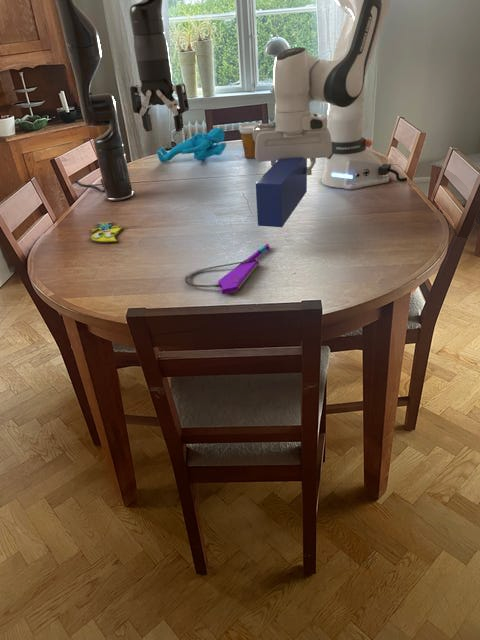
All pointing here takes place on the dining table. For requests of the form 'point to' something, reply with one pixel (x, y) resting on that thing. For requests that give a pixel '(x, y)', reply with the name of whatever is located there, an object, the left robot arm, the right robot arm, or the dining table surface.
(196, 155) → the toy
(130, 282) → the dining table surface
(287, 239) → the dining table surface
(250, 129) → the glass of beer
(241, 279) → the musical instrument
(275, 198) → the box
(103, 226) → the toy
